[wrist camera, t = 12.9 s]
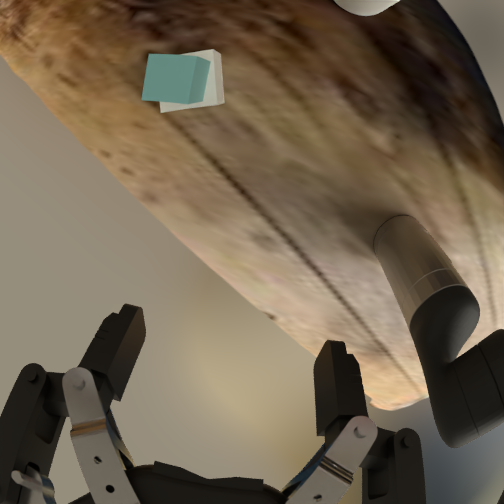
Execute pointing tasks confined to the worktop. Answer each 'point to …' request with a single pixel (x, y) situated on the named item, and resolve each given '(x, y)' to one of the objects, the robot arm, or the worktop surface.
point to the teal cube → (175, 78)
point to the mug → (365, 6)
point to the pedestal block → (213, 84)
